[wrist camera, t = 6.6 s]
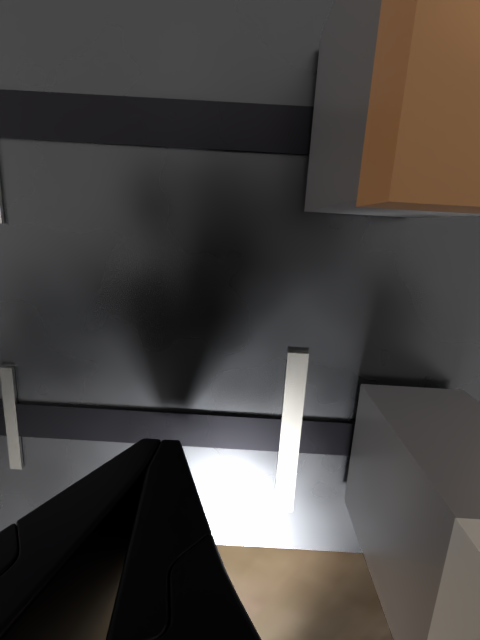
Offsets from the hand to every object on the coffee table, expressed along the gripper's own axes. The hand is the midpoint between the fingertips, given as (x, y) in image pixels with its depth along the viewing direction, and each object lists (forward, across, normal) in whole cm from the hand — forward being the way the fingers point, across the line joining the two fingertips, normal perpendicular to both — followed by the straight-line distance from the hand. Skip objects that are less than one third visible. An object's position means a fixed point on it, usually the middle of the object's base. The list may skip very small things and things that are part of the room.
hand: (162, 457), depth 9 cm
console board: (+2, +1, -4) cm, 4 cm away
